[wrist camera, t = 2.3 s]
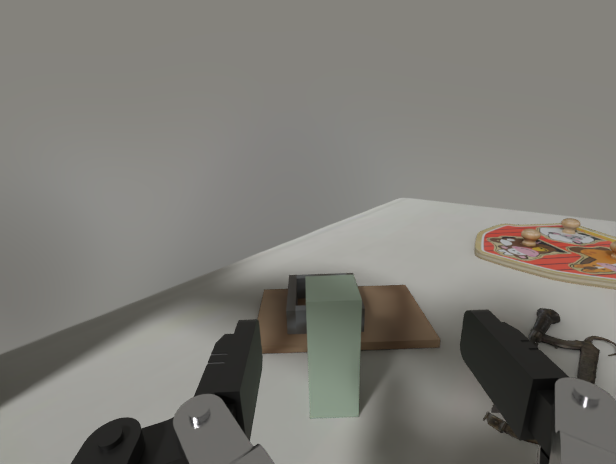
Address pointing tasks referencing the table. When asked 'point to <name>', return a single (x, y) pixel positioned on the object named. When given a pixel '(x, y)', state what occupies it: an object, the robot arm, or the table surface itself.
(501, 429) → the hacksaw
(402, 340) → the tool stand
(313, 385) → the peg block
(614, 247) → the knob puzzle
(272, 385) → the table surface
